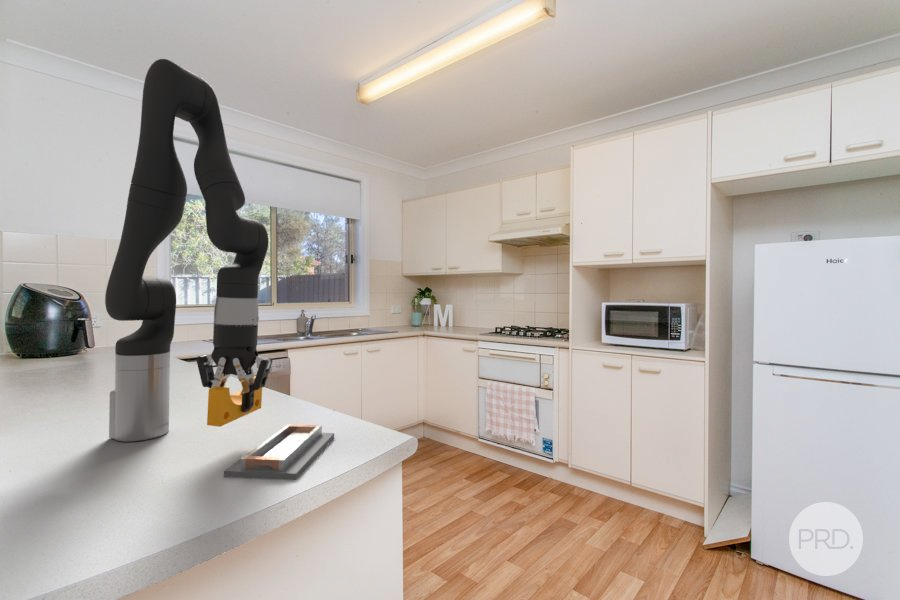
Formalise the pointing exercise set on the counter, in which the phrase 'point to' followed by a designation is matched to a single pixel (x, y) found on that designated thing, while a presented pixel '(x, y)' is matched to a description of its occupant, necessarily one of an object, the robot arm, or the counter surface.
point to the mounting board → (292, 470)
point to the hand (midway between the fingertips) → (233, 409)
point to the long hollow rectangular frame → (281, 448)
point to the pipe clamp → (228, 405)
